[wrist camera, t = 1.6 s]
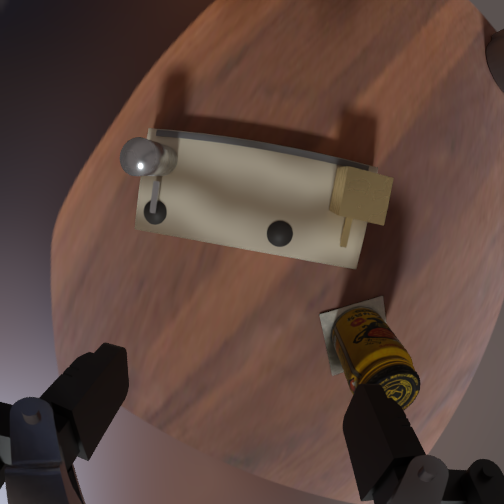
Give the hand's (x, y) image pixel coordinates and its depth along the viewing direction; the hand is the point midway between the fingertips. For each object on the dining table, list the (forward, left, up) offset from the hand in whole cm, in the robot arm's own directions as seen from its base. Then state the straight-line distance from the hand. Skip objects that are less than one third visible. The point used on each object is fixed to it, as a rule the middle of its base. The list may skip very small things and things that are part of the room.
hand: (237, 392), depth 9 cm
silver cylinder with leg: (-5, -10, -20) cm, 23 cm away
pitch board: (-5, -1, -21) cm, 22 cm away
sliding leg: (-6, +8, -20) cm, 22 cm away
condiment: (+8, +13, -22) cm, 26 cm away
